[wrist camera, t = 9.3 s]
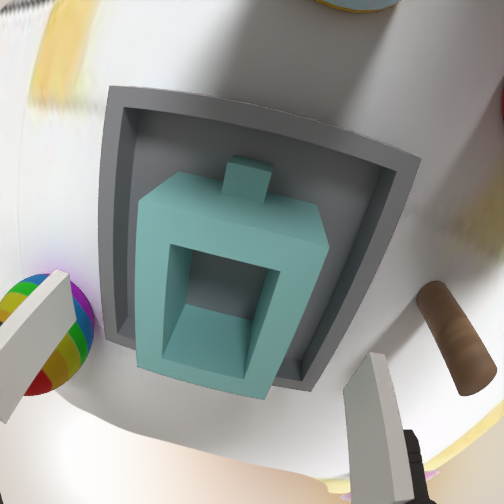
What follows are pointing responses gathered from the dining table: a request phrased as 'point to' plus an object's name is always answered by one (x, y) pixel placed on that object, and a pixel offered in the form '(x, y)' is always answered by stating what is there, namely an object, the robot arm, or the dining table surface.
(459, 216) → the dining table surface
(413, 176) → the tray
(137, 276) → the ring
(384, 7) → the bottle
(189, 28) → the dining table surface
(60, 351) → the decorative egg
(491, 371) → the post
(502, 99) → the canned food
